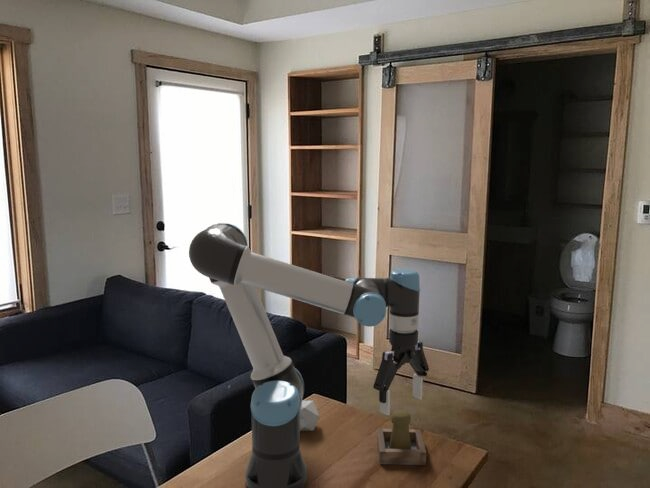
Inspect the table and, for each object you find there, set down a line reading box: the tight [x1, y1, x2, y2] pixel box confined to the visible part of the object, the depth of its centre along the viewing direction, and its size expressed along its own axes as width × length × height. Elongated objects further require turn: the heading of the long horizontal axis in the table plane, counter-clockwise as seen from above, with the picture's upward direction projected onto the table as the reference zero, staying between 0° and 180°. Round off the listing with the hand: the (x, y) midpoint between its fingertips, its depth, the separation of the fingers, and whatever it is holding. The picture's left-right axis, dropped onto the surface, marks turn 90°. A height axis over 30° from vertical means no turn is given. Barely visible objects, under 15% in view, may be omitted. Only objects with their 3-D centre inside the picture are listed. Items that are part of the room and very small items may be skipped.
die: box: [300, 400, 320, 432], centre depth 158 cm, size 8×9×10 cm
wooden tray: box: [376, 428, 427, 466], centre depth 146 cm, size 12×12×4 cm
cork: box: [389, 409, 412, 449], centre depth 145 cm, size 6×6×11 cm
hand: (401, 405), depth 144 cm, fingers open, 13 cm apart
